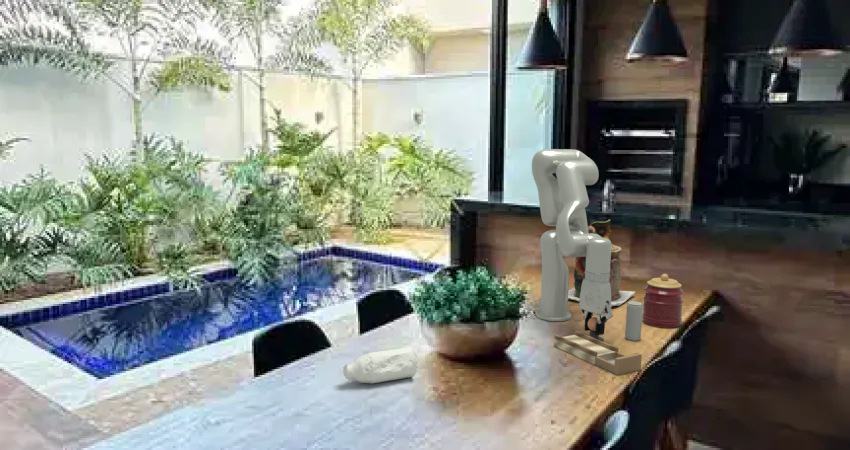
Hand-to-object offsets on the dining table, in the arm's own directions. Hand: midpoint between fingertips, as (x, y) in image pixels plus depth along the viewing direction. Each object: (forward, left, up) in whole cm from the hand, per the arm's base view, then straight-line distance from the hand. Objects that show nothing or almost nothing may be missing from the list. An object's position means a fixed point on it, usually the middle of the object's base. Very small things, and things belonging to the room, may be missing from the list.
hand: (594, 331), depth 207 cm
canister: (-3, +35, -3) cm, 35 cm away
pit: (+21, -11, -3) cm, 24 cm away
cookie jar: (-39, +38, -3) cm, 54 cm away
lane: (+8, -11, -3) cm, 14 cm away
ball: (0, 0, 0) cm, 0 cm away
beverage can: (+5, +12, -3) cm, 13 cm away
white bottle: (+1, -75, -3) cm, 75 cm away
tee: (0, 0, -3) cm, 3 cm away
